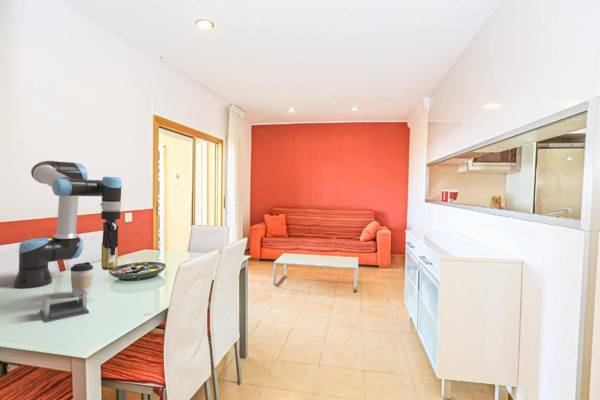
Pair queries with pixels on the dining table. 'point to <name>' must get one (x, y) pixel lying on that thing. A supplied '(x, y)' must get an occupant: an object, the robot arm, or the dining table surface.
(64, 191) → the robot arm
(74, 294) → the coffee cup
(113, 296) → the dining table surface
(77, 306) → the clip holder
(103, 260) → the sauce bottle
